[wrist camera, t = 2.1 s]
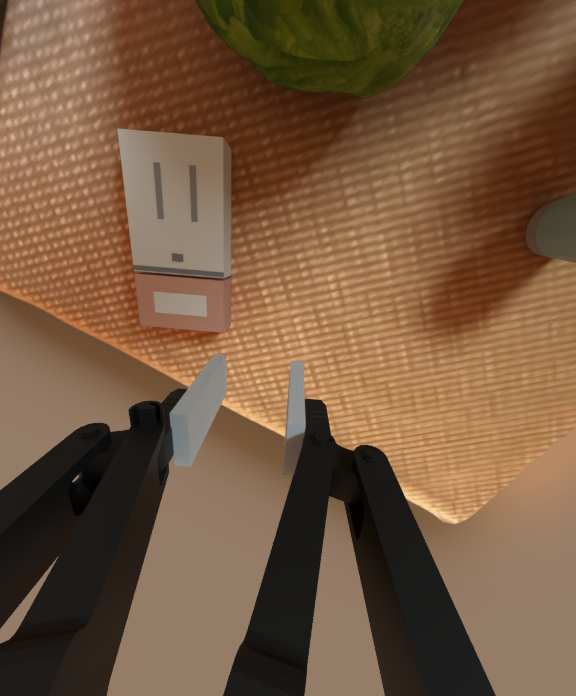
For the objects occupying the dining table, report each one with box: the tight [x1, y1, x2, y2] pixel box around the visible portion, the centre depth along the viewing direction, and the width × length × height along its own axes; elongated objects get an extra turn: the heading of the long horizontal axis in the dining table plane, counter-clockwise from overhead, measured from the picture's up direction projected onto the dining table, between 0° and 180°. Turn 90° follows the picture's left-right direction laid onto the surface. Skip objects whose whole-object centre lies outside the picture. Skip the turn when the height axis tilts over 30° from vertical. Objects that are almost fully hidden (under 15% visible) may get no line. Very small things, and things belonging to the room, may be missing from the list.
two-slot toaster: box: [117, 129, 232, 278], centre depth 30 cm, size 13×10×4 cm
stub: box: [134, 272, 231, 333], centre depth 33 cm, size 6×10×4 cm, turn 86°
